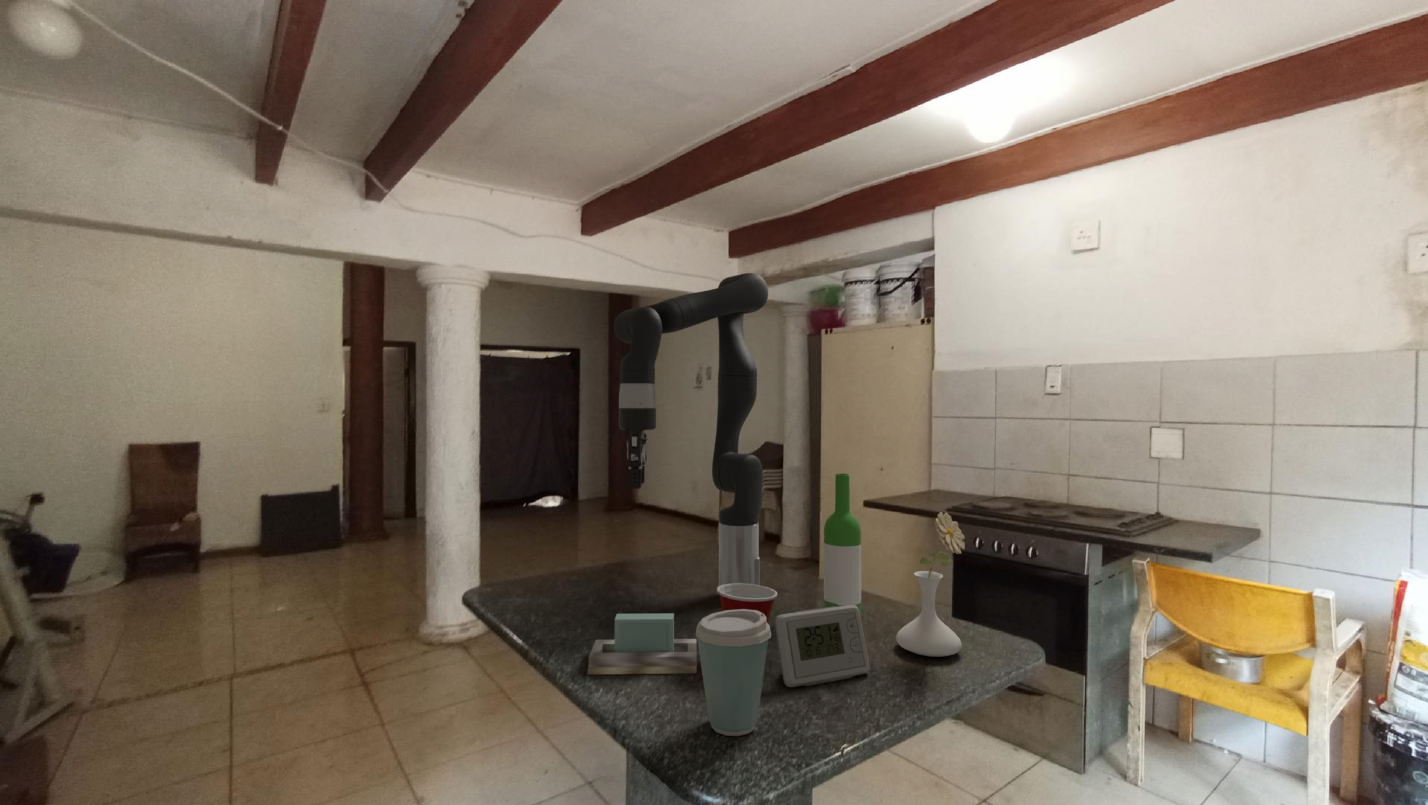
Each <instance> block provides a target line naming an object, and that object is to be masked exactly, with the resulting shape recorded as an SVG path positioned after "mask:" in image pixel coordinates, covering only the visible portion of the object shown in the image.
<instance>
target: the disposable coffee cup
mask: <svg viewBox="0 0 1428 805" xmlns="http://www.w3.org/2000/svg"><path fill="white" fill-rule="evenodd" d="M695 630H696V631H695V637H696V641H697V645H698V653H699V654H698V655H699V661H700V668H701V673H702V675H701V676H702V679H703V680H702V682H703V688H704V695H705V702H706V709H707V715H708V716H707V717H708V722H709V723H710V726H711V728H712V729H713V730H714V731H715V732H716V733H718V734H721V735H723V736H728V737H730V736H731V737H740V736H744V735H748V734H750V733H751V732H753V731H754V730H755V729H756V726H757V724H758V722H759V721H758V720H759V713H760V712H759V711H760V706H761V705H760V704H761V696H762V690H763V682H764V674H765V666H766V658H767V651H768V644H769V639H771V638H772V631H771V626H770V624H768V623H767V622H766V616H765V615H764V614H763V613H761V612H759V611H757V610H747V609H738V610H726V611H717V612H714V613H710V614H709V615H707V616H704V617H702V619H701V620H700V621H699V622H698V623H697V626H696V629H695Z"/></svg>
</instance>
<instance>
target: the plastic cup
mask: <svg viewBox="0 0 1428 805" xmlns="http://www.w3.org/2000/svg"><path fill="white" fill-rule="evenodd" d="M716 591H717V593H718V597H719V602H720V606H721V609H722V611H726V610H738V609H747V610H757V611H759V612H761V613H763V614H764V615H765V616H766V622H767V623H768V624H769V622H770V618H771V611H772V608H773V605H774V603H775V599H776V598H777V597H778V592H777V591H776V590H775V589H773V588H770V587H767V586H765V585H764V586H763V585H760V586H759V585H754V584H742V583H735V584H725V585H721V586H719V585H718V586H717V587H716ZM722 611H721V612H722ZM769 625H770V624H769Z"/></svg>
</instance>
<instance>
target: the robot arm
mask: <svg viewBox="0 0 1428 805" xmlns="http://www.w3.org/2000/svg"><path fill="white" fill-rule="evenodd" d="M768 299H769V288H768V284H767V283H766V281H765V279H764V278H763V277H762V276H761V275H759V274H757V273H753V272H747V273H746V272H745V273H741V274H737V275H732V276H728V277H725V278H723V279H722V280H721V282H719V284H718V287H716V288H712V289H708V290H703V291H699V292H693V293H692V292H690V293H687V294H683V295H679V296H676V297H671V298H667V299H664V300H662V301H660V302H657V303H654V304H651V305H645V306H640V307H635V308H631V309H626V310H624V311H622V312H621V313H619V314H618V315H617V316H616V317H615V320H614V322H613V323H614V324H613V331H614V334H615V336H616V337H617V338H618V340H620V341H621V342H623V343H625V344H628V345H630V348H629V352H628V353H627V354H625V355H624V356H623V357H622V358H621V360H620V368H619V369H620V373H619V374H620V376H619V378H620V381H619V382H620V384H619V385H620V386H619V392H618V393H619V394H618V428H619V429H620V430H621V431H622V430H624V431H629V432H630V436H629V435H628V437H627V440H626V446H627V447H626V448H627V453H626V457H627V464H626V465H627V468H628V470H629V488H630V489H632V490H636V489H637V490H639V489H641V487H642V485H643V484H644V483H645V480H646V479H645V473H646V471H645V470H646V468H645V467H646V463H647V459H648V458H647V457H648V446H649V445H648V444H649V439H648V438H647V436H648V435H647V433H645V431H649V430H650V431H652V430H653V431H654V430H655V429H657V393H656V367H655V366H656V360H657V357H658V354H659V349H660V347H661V340H662V335H663V334H671V333H675V332H678V331H682V330H685V329H689V328H691V327H694V326H697V325H700V324H702V323H704V322H708V321H710V320H714V319H716V318H717V327H718V372H717V374H718V375H717V415H716V416H717V417H716V431H715V439H714V447H713V457H712V462H711V463H712V464H711V465H712V466H711V475H712V481H713V484H714V486H715V487H716V489H717V490H719V491H720V492H724V493H731V494H734V499H733V503H732V504H731V505H730V506H727V507H723V508H722V509H721V510H720V511H719V514H718V523H719V524H718V527H719V528H718V587H719V586H721V585H725V584H735V583H742V584H754V585H759V586H761V581H760V580H761V576H760V573H761V572H760V571H761V561H760V556H759V550H760V548H759V544H760V542H759V540H760V539H759V538H760V536H759V534H760V531H759V530H760V528H759V527H760V526H759V524H760V523H759V519H760V514H761V510H762V505H763V488H764V487H763V486H764V485H763V483H764V472H763V465H762V463H761V460H760V459H759V457H757V456H756V455H753V454H748V453H739V443H740V442H739V441H740V434H741V432H742V431H741V430H742V428H743V425H744V424H745V422H746V420H747V418H748V416H749V415H750V413H751V412H752V409H753V408H754V405H755V403H756V399H757V392H758V391H757V390H758V369H757V365H756V362H755V361H754V360H755V359H754V358H753V355H752V353H751V351H750V349H749V348H748V345H747V343H746V340H745V334H744V314H745V315H746V314H752V313H755V312H758V311H759V310H761V309H763V307H764V306H765V305H766V303H767V302H768V301H767V300H768Z"/></svg>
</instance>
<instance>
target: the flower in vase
mask: <svg viewBox="0 0 1428 805" xmlns="http://www.w3.org/2000/svg"><path fill="white" fill-rule="evenodd" d="M935 527H936V532H937V534H938V539H939V542H938V544H937V547H936V549H935V553H934V556H933V560H929V559H927V558H925V557H923V556H921V557H920V561H919V564H920V565H923V566H926V567H929V570H928V571H927V570H926V571H925V570H923V571H922V570H921V571H920V570H919V571H915V572H914V573H913V575H914V576H915V578H916V579H917V581H918V583H919V587H920V592H921V612H920V613H919V615H918V616H917V617H916V618H914V619H913V620H912V621H910V622H908V623H907V624H906V625H904V626H903V627H902V628H901V629H899V630H898V631H897V634H896V636H895V640H896V642H897V643H898V645H899V646H900V648H902V649H904V650H907V651H909V652H911V653H913V654H916V655H920V656H926V657H936V658H939V657H940V658H941V657H948V656H951V655H952V656H953V655H955V654H957V653H959V651H961V649H962V647H963V643H962V641H961V639H960V637H959V636H958V635H957V634H956V633H955V632H954V631H953V630H952V629H951V628H950V627H949V626H947V625H946V624H945V623H944V622H943V621H942V620H941V619H940V618H939V617H938V616H937V612H936V604H935V603H936V594H937V588H938V586H939V583H940V582H941V580H942V579H943V577H944V574H941V573H939V572H936V571H933V568H934V565H935V564H936V560H937V561H938V563H939V564H941V565H942V566H944V567H945V566H946V567H947V566H949V564H951V563H952V559H951V557H950V556H949V554H947V553H946V552H944V551H939V549H940V547H941V544H943V546H945V548H946V550H947V551H951V552H952V553H953V554H957V555H961V554H962V550H965V549H966V546H965V545H966V543H965V541H963V540H965V538H966V537H965V535H964V534H963V533H962V530H961V529H960V528H959V524H958V521H955V520H954V521H953V519H952V516H951V515H949V513H948V512H945V513H943V512H942V511H940V512H939V513H938V514H937V517H936V518H935ZM961 549H962V550H961Z"/></svg>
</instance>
